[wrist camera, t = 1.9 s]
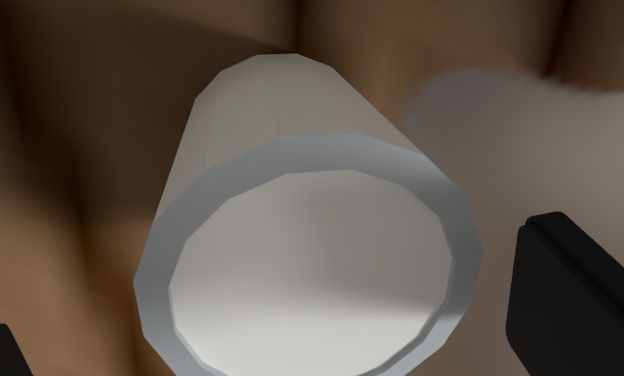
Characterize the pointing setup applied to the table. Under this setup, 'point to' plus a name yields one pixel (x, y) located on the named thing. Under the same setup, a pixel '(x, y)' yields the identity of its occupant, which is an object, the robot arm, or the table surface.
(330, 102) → the white cup
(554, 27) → the table surface
